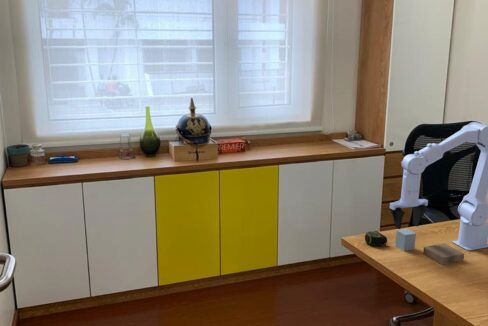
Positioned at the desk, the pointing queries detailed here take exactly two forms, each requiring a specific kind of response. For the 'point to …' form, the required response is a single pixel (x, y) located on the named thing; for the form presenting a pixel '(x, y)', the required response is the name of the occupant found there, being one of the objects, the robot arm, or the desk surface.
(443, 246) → the walnut base
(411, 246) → the grey block
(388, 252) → the desk surface
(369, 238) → the tape measure
